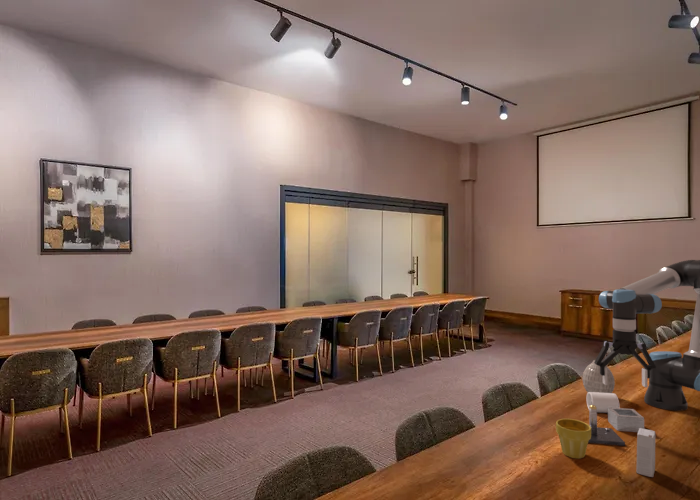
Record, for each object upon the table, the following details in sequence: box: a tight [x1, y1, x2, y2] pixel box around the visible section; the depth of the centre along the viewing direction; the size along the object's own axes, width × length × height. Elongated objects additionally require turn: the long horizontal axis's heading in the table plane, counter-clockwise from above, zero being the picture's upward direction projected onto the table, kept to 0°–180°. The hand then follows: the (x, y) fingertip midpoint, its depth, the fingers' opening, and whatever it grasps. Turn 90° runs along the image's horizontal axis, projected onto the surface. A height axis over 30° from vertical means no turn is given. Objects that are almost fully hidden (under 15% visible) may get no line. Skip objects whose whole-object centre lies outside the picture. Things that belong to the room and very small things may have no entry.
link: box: [607, 407, 645, 433], centre depth 160 cm, size 9×9×6 cm
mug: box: [585, 392, 621, 414], centre depth 178 cm, size 12×10×8 cm
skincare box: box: [635, 428, 656, 478], centre depth 127 cm, size 6×4×12 cm
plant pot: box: [555, 418, 591, 459], centre depth 139 cm, size 10×10×10 cm
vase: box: [582, 359, 616, 393], centre depth 194 cm, size 13×13×17 cm
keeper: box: [588, 405, 626, 447], centre depth 152 cm, size 16×12×11 cm
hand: (624, 385), depth 161 cm, fingers open, 13 cm apart
